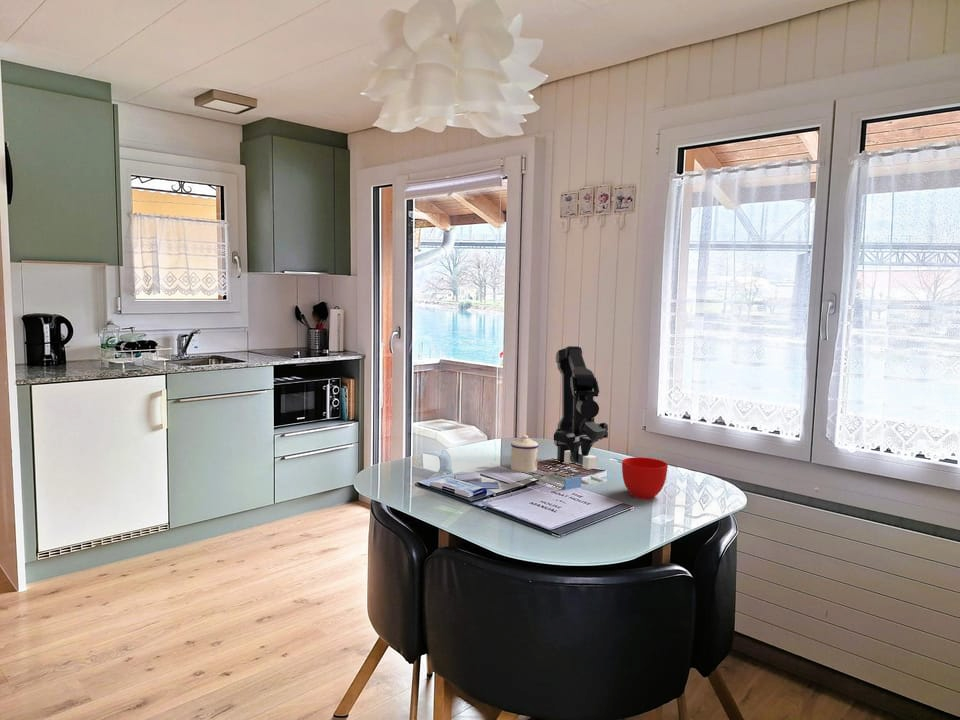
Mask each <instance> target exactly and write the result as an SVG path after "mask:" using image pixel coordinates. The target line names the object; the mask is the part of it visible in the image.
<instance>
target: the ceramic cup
mask: <svg viewBox="0 0 960 720" xmlns="http://www.w3.org/2000/svg"><path fill="white" fill-rule="evenodd" d="M621 470H622V472H621V473H622V479H623V483H624V486H625V487H626V489H627V490H628V492H629V493H630V495H631V496H632V497H633V498H636V499H642V500H652V499H655V497H656V496H657V495H658V494H659V493H660V492H661V491H662V489H663V487H664V486H665V482H666V480H667V474H668V463H667V462H665V461H663V460H660V459H657V458H652V457H639V456H638V457H637V456H635V457H627V458H624V459H622V461H621Z"/></svg>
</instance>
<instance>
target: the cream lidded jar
mask: <svg viewBox="0 0 960 720" xmlns="http://www.w3.org/2000/svg"><path fill="white" fill-rule="evenodd" d="M510 446H511V453H510V454H511V457H510V459H511V460H510V470H512V471H513V470H515V471H514V472H517V471H518V472H517V473H534V472H536V471H537V470H538V453H539V451H538V450H539V443H538V442H537V441H534V440H533V439H531V438H529V436H528V435H527V434H523V435H521V437H520V438H518V439H517V440H514V441H512V442H511V443H510Z"/></svg>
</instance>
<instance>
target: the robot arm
mask: <svg viewBox="0 0 960 720" xmlns="http://www.w3.org/2000/svg"><path fill="white" fill-rule="evenodd" d="M555 363H557V370H558V371H559V372H560V374H561V403H562V404H561V418H560V420H559V422H557V428H556V429H555V431H554V433H553V444H554V445H555V446H556V447H557V455H556V456H557V458H556V460H558V461H560V462H564V451H567V450H570V452H571V454H572V457H573V459H574V461H575V462H578V456H579V454H582V455H585V456H588V455H590V454H589V453H590V452H591V449H592V446H594V444H595V443H596V442H599V440H600V441H601V440H603V439H607V438H609V437H608V436H609V431H608V430H609V424H608V423H606V422H601V423H596V422H595V418H596V417H597V416H598V414H599V411H600V407H599V404H598V402H596V401H595V400H594V397H595V398H596V397H599V393H600V388H599V383H598V380H597V377H595V374H594V373H593V371H592V370H590V369H588V368H587V365H586V363H585V361H584V357H583V350H582V347H580V346H575V345H574V346H572V345H570V346H569V345H568V346H566V347H564V348H561V349H559V350H557V352H556V354H555ZM579 452H581V453H579Z"/></svg>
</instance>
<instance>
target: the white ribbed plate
mask: <svg viewBox="0 0 960 720" xmlns="http://www.w3.org/2000/svg"><path fill="white" fill-rule="evenodd" d="M570 470H572V471H575V472H577V469H576V470H575V469H570ZM564 473H565V472H561V471H556V472H554V471H548V472H547V474H546V475H545V476H542V475H541V474H533V475H532V478H535V479H537V480H539V482H536V483H535V484H538V485H540V486H543V485H544V484H546V483H548V484H550V485H553V486H555V487H553V486H552V487H551V488H549V487H547V488H548V489H551V490H554V491H556V492H557V491H561V490H564V489H565V490H564V491H568V490H573V489H577V488H582V487H583V486H588V485H593V484H598V483H602V482H608V481H609V480H608V479H607V478H603V477H599V476H597V477H595V476H596V475H594V476H592V475H593V474H591V475H588V476H590V477H591V479H587V480H582V477H573V476H570V475H567V474H564ZM555 474H558V475H555ZM559 475H561V476H565V477H568V478H569V479H565V478H562V477H561V476H559ZM555 482H556V483H555ZM557 483H560V484H562V485H560V484H557ZM563 485H564V486H563ZM557 487H558V488H557ZM559 488H561V489H559ZM572 488H573V489H572Z"/></svg>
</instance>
